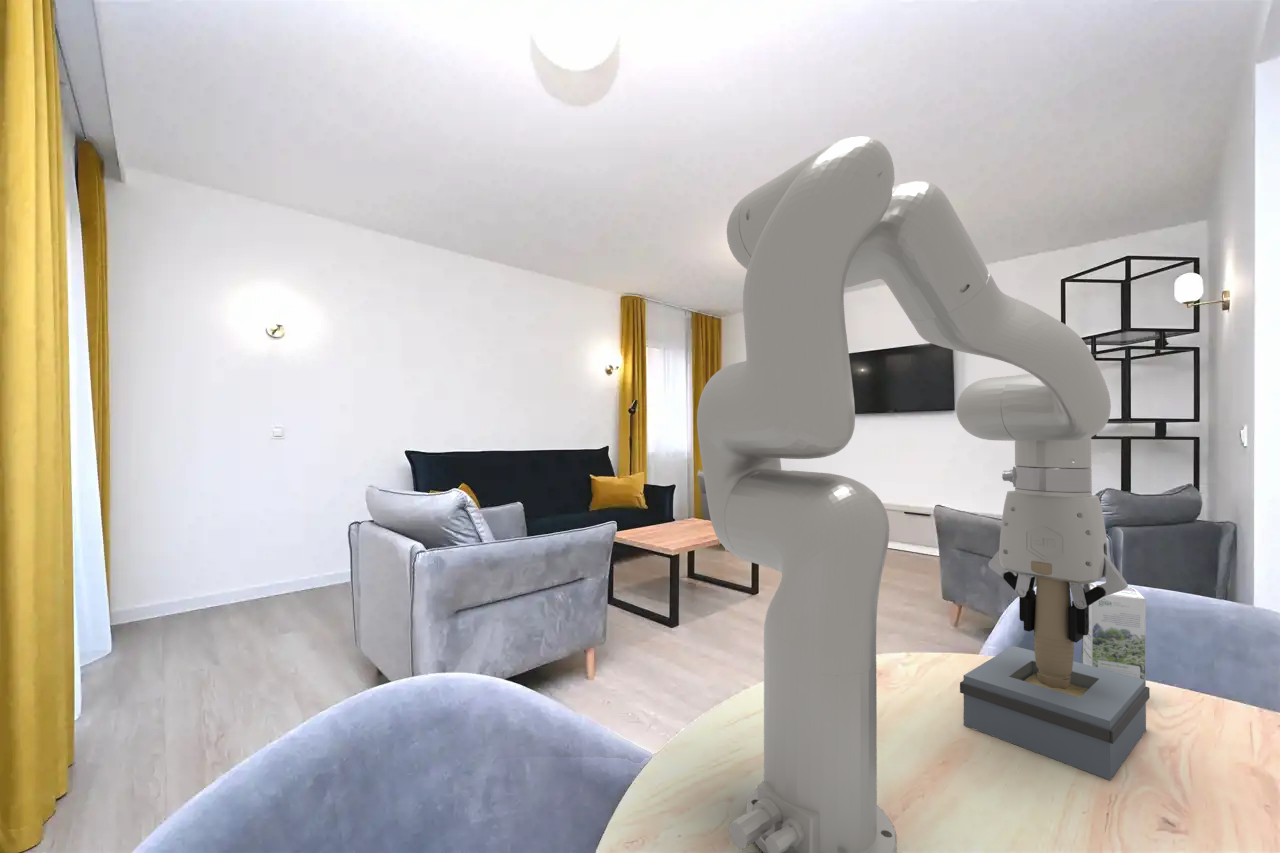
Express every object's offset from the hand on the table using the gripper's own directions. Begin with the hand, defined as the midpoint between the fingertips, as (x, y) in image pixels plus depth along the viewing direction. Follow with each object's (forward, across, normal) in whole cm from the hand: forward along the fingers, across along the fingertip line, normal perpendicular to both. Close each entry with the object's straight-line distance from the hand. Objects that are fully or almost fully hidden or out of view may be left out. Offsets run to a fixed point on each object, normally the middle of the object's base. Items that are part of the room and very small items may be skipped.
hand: (1053, 632), depth 68 cm
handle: (+6, 0, 0) cm, 6 cm away
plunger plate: (+8, 0, 0) cm, 8 cm away
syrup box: (+12, +2, +17) cm, 21 cm away
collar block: (+11, 0, 0) cm, 11 cm away
